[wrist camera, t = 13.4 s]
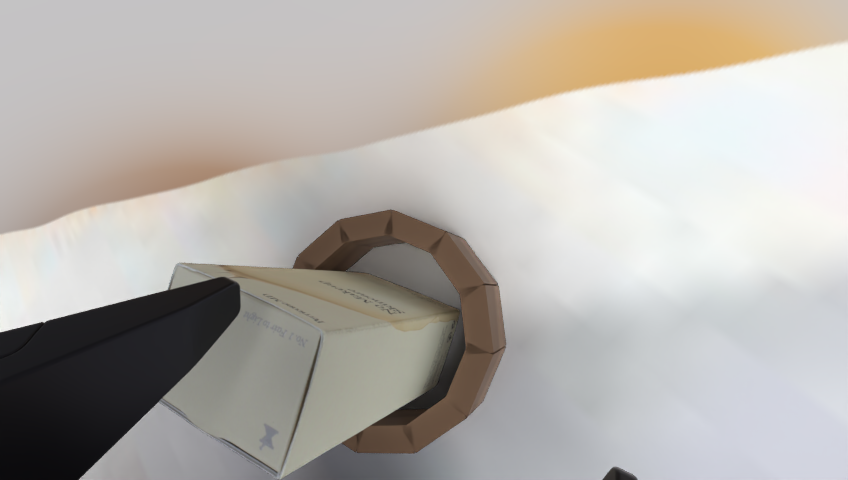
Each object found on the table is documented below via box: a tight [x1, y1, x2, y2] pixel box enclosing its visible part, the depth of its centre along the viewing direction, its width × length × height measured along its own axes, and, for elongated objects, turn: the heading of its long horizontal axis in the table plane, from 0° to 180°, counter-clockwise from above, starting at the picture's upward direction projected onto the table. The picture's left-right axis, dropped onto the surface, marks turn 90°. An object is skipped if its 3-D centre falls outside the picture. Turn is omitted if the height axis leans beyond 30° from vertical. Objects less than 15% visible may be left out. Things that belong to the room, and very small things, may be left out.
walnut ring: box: [293, 210, 506, 453], centre depth 22 cm, size 11×11×3 cm
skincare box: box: [159, 263, 460, 480], centre depth 18 cm, size 6×4×12 cm
